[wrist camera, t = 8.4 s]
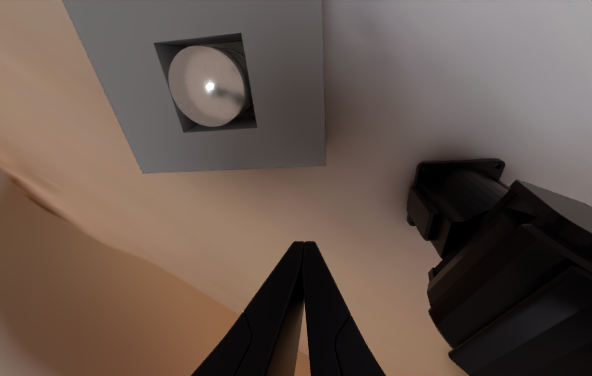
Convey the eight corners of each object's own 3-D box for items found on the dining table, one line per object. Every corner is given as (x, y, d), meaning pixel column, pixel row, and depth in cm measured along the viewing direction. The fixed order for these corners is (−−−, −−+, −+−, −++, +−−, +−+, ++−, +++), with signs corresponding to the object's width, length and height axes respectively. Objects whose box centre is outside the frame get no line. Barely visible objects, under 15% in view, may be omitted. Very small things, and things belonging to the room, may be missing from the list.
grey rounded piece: (251, 45, 15) (232, 41, 12) (262, 111, 18) (248, 124, 14) (191, 52, 16) (156, 49, 13) (208, 115, 18) (182, 128, 15)
